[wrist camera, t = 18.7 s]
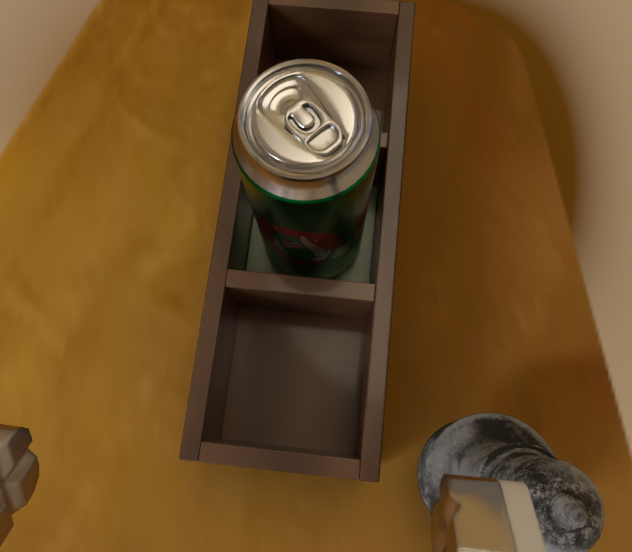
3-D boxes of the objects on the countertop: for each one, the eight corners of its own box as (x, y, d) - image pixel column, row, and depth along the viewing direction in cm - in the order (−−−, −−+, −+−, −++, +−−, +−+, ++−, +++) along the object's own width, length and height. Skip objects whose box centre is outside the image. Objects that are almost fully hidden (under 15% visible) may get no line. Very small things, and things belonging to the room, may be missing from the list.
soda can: (317, 174, 30) (312, 20, 19) (380, 241, 29) (417, 122, 18) (244, 233, 30) (192, 110, 18) (307, 304, 29) (295, 222, 17)
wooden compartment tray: (204, 452, 28) (178, 459, 23) (265, 53, 33) (254, -12, 28) (369, 472, 27) (379, 482, 22) (402, 64, 33) (415, 1, 28)
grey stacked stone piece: (447, 564, 26) (544, 679, 14) (390, 445, 27) (437, 461, 16) (557, 508, 27) (736, 575, 15) (496, 393, 28) (616, 373, 16)
